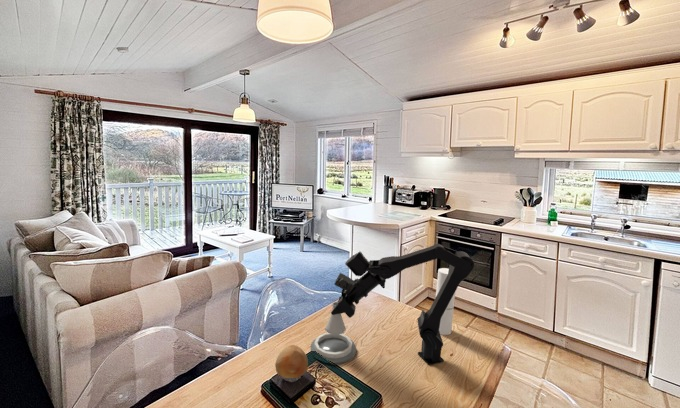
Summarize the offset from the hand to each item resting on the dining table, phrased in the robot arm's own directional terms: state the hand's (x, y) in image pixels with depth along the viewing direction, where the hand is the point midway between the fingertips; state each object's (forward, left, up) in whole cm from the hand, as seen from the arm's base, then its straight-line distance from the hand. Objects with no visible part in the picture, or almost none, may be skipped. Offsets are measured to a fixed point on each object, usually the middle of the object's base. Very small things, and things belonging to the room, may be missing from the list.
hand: (332, 311), depth 111 cm
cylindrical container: (-3, -47, -13) cm, 49 cm away
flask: (-1, -1, -7) cm, 7 cm away
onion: (-13, +17, -13) cm, 25 cm away
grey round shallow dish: (-3, 0, -13) cm, 13 cm away
